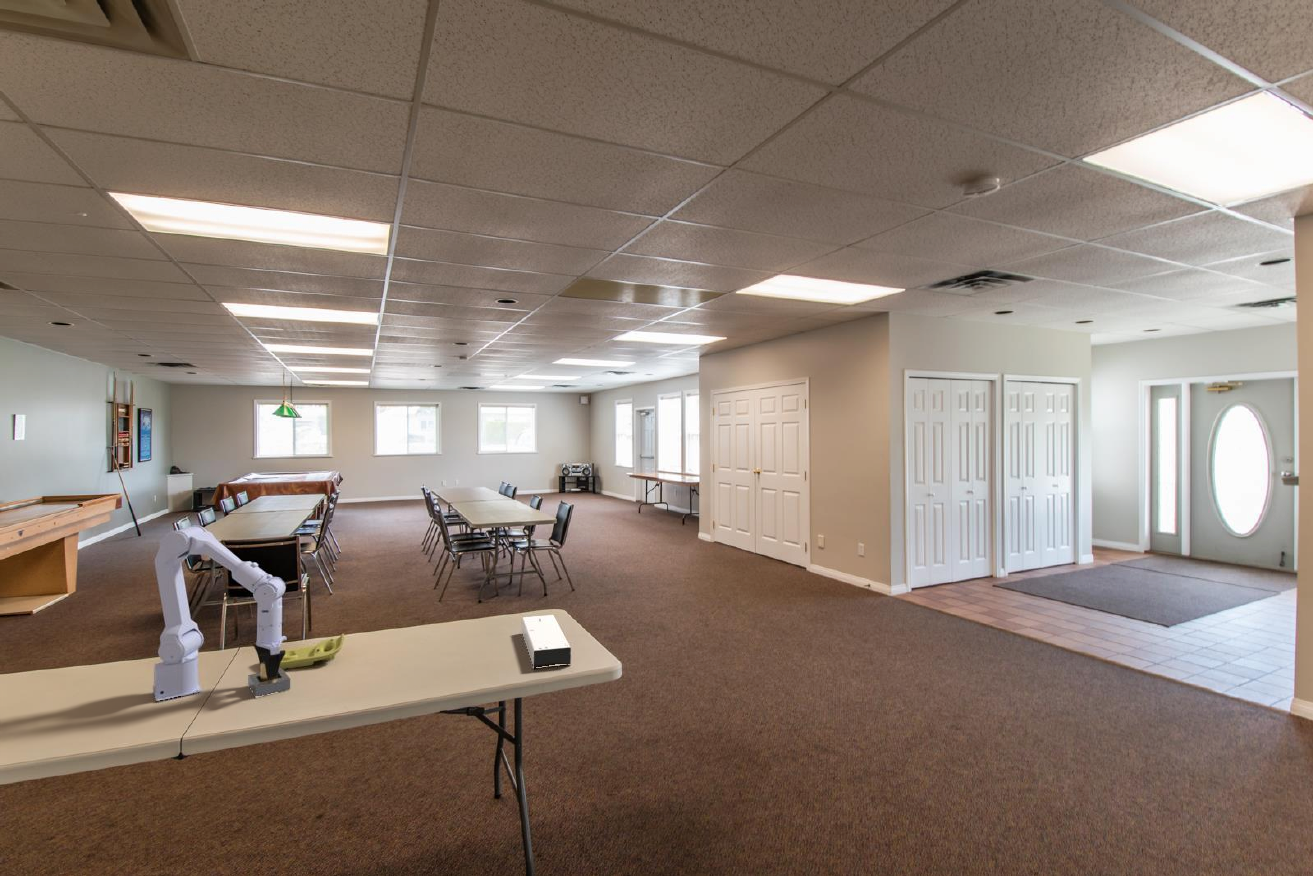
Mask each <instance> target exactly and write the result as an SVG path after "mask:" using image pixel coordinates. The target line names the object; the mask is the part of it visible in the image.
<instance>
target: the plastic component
mask: <svg viewBox="0 0 1313 876" xmlns="http://www.w3.org/2000/svg"><path fill="white" fill-rule="evenodd" d="M344 639H345V633H341V635H340V636H339V637H338V638H329V639H326V640H322V641H320V642H319V643H317V644H316V645H315V644H314V645H308V646H301V647H296V648H295V647H294V648H290V649H289V648H288V649H284V650H285V651H286V653H285V655H284V657H283V659H282V661H281V663H280V667H279V668H282V669H283V670H287V669H286V668H289V669H296V668H300V667H306V666H307V667H308V666H312V665H313V664H314V663H315V662H317V661H321V660H322V661H326V662H328V661H329V660H332V661H333V660H334V659H336V655H337V654H338V653H339V652H340V650H341V649H342V647H343V644H344ZM282 650H283V649H281V650H280V651H282ZM329 662H330V661H329Z"/></svg>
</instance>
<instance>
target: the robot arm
mask: <svg viewBox="0 0 1313 876" xmlns="http://www.w3.org/2000/svg"><path fill="white" fill-rule="evenodd" d="M158 542H159V543H158V544H159V549H158V550H157V553H156V555H155V559H154V565H155V566H154V567H155V573H156V579H157V584H158V590H159V591H158V592H159V597H160V602H161V608H162V614H163V619H164V628H163V630H162V632H161V634H160V637H159V640H160V641H159V642H160V644H159V647H158V651H157V654H158V657H159V658H160V659H161V661H160V662H158V663H155V664H154V666H153V685H152V693H153V695H154V698H155V699H154V700H155V702H156V701H158V700H163V701H166V700H165V699H168V700H171V699H170V698H172V699H175V698H174V697H177V698H179V697H178V696H181V697H186V696H188V695H189V696H190V695H194V694H198V692H199V693H201V692H202V688H201V685H200V684H199V683H200V682H199V649H200V648H201V647H202V646H203V644H204V635H203V633H202V632H201V631H200V630H199V627H198V623H197V622H195V621H193V619H191V618H192V617H191V612H190V607H189V601H188V595H187V589H186V588H187V587H186V583H185V582H186V581H185V576H184V571H183V566H182V564H183V562H184V561H185V559H187V558H188V557H189V556H190V555H206V556H207V557H209V558H210V559H211V560H213V561H215V562H216V563H218V564H220V565H221V566H223V567H225V568H226V569H227V570H228V571H231V577H232V579H233V580H235V582H237V583H238V584H240V585H241V586H242V587H244V588H245V589H247V590H248V591H250V592H251V593H253V594H252V595H253V596H252V597H253V599H254V601H255V602H256V603H257V609H256V610H257V611H256V612H257V614H256V615H257V619H256V622H257V624H256V626H257V627H256V642H255V644H252V645H253V648H254V649H255V651H256V654H257V657H258V662H259V665H260V664H261V663H262V662H264V664H265V669H266V675H267V678H268V679H270V678H275V677H277V674H278V671H279V667H280V663H281V661H282V659H283V657H284V655H285V653H286V651H285V650H286V649H281V648H280V647H281V645H282V642H285V641H287V636H285V635H282V634H283V633H282V630H283V629H282V627H283V626H282V625H283V597H282V596H283V595H284V593H285V592H286V588H287V586H286V583H285V581H284V580H283V579H282V578H281V577H278V576H273V575H272V574H269V573H267V572H266V571H264V570H263V569H262V568H260V567H259V564H258V563H257V562H254V561H253V562H252V561H250V560H249V561H243V560H241V559H240V558H239V557H238V556H237V555H235V554H234V553H233V552H232V551H231V550H230V549H228V548H227V547H226V546H225V545H223V543H221V542H220V541H219V540H218V539H216V537H215V536H214V534H213V533H212V532H211V531H208V530H206V528H204V527H203V526H202V525H197V524H195V525H190V526H188V527H184V528H181V529H178V530H177V529H175V530H171V531H169V532H168V533H166V535H164V536H163V537H162V538H161V539H159V541H158ZM280 649H281V650H282V651H281V650H280ZM193 693H194V694H193Z"/></svg>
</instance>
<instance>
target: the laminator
mask: <svg viewBox="0 0 1313 876" xmlns="http://www.w3.org/2000/svg"><path fill="white" fill-rule="evenodd" d="M522 634H523V636H522V638H523V637H524V639H523V641H524V640H525V642H524V644H525V643H526V645H525V647H526V646H527V648H526V650H527V649H528V651H527V653H528V652H529V654H528V656H529V655H530V657H529V659H530V658H531V660H530V662H531V661H532V663H531V665H532V664H533V666H532V668H533V667H534V668H536V667H542V666H549V665H555V664H570V665H571V664H572V662H571V660H572V659H571V658H572V648H571V646H570V643H569V642H568V640H567V638H566V635H564V632H563V631H562V629H561V626H560V625H559V623H558V621H557V619H556V618H555V616H554V614H545V615H543V614H542V615H534V616H532V615H531V616H522V618H521V635H522Z"/></svg>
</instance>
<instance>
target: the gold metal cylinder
mask: <svg viewBox="0 0 1313 876" xmlns="http://www.w3.org/2000/svg"><path fill="white" fill-rule="evenodd" d="M259 667H260V669H259V671H260V672H259V673H260V682H265V681H269V680H274V679H278V674H277V677H275V678H270V679H268V678H267V675H266V669H265V664H264V662H262V663H261V664H260V663H259Z"/></svg>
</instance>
